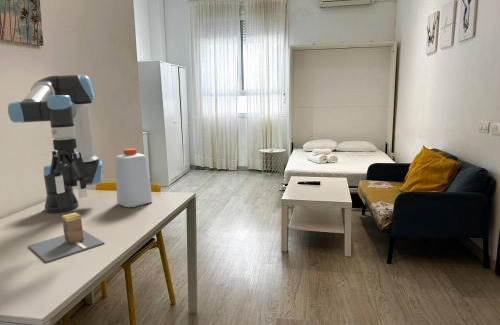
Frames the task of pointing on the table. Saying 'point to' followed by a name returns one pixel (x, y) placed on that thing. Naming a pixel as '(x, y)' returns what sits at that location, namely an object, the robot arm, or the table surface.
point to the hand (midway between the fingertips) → (71, 195)
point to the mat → (63, 247)
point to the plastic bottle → (132, 179)
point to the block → (72, 228)
